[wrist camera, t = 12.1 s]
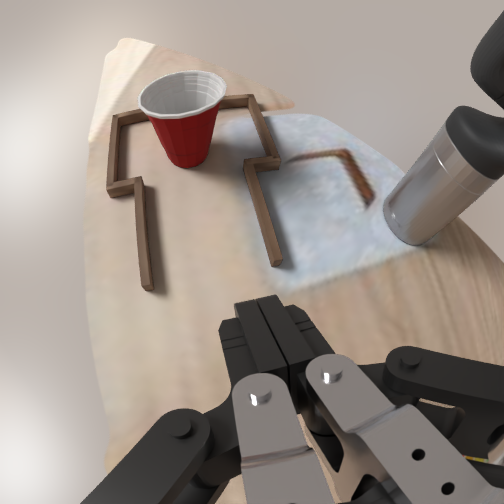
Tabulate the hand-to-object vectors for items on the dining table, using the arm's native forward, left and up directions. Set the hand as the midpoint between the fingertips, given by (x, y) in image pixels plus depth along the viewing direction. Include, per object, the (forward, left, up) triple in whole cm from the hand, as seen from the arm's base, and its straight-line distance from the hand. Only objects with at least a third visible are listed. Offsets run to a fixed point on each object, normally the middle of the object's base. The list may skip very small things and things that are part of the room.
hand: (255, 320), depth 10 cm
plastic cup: (+1, -29, -22) cm, 36 cm away
